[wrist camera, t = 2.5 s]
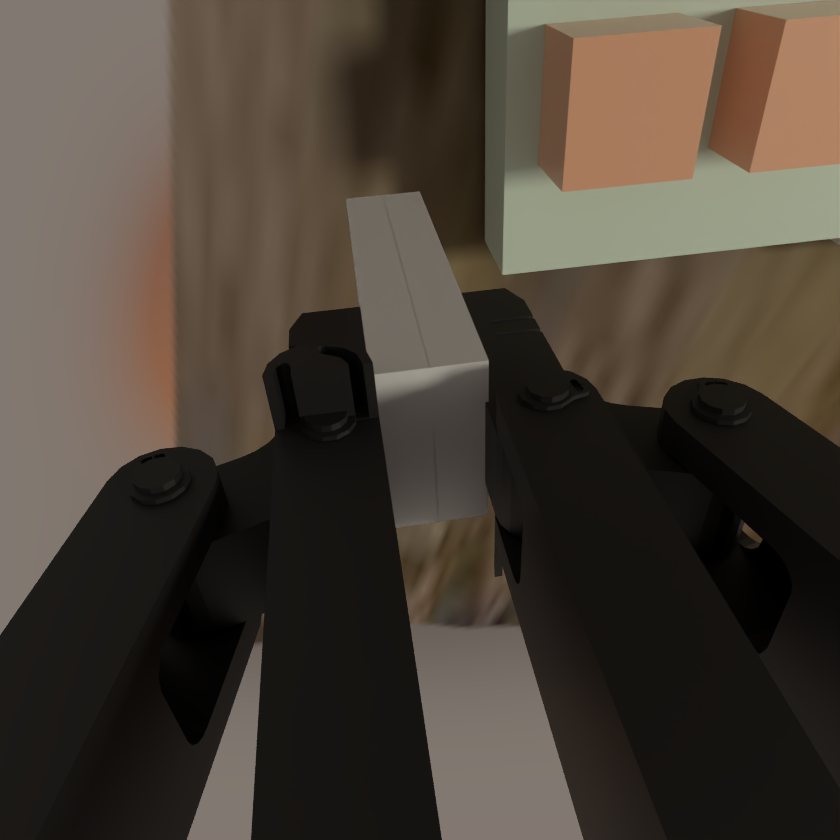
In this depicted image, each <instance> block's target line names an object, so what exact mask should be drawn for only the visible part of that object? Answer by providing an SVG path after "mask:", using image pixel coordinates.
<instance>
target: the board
mask: <svg viewBox="0 0 840 840" xmlns="http://www.w3.org/2000/svg"><path fill="white" fill-rule="evenodd" d="M811 1H823V0H486V49H485V242H486V244H487V246H488V248H489V250H490V252H491V254H492V256H493V258H494V260H495V262H496V263H497V265H498V267H499V269H500V271H501V273H502V275H506V274H515V273H524V272H534V271H543V270H552V269H561V268H570V267H579V266H588V265H597V264H606V263H615V262H624V261H634V260H643V259H652V258H661V257H670V256H679V255H688V254H697V253H706V252H715V251H724V250H734V249H743V248H752V247H761V246H770V245H779V244H788V243H797V242H806V241H815V240H824V239H834V238H840V164H833V165H823V166H813V167H804V168H794V169H784V170H774V171H764V172H755V173H748V172H747V171H745V170H744V169H742V168H740V167H739V166H737V165H735V164H734V163H732V162H730V161H729V160H727V159H725V158H724V157H722V156H720V155H719V154H717V153H716V152H714V151H712V150H711V149H709V148H708V146H709V141H710V136H711V131H712V126H713V121H714V116H715V111H716V106H717V101H718V96H719V91H720V86H721V81H722V76H723V71H724V66H725V61H726V56H727V51H728V46H729V41H730V36H731V31H732V26H733V21H734V16H735V11H736V8H740V7H752V6H764V5H775V4H787V3H799V2H811ZM669 13H681V14H684V15H688V16H691V17H695V18H698V19H702V20H705V21H708V22H712V23H715V24H719V25H722V28H721V33H720V38H719V43H718V48H717V54H716V59H715V64H714V69H713V75H712V80H711V85H710V90H709V95H708V101H707V106H706V111H705V116H704V122H703V127H702V132H701V137H700V142H699V148H698V153H697V158H696V163H695V169H694V174H693V179H686V180H676V181H667V182H657V183H647V184H637V185H627V186H618V187H608V188H598V189H588V190H578V191H569V192H562V191H561V190H560V189H559V188H558V187H557V186H556V185H555V183H554V182H553V181H552V180H551V179H550V178H549V177H548V175H547V174H546V173H545V172H544V171H543V170H542V169H541V168H540V166H539V165H538V157H539V137H540V118H541V98H542V78H543V59H544V39H545V24H551V23H563V22H575V21H587V20H598V19H610V18H622V17H634V16H646V15H657V14H669Z"/></svg>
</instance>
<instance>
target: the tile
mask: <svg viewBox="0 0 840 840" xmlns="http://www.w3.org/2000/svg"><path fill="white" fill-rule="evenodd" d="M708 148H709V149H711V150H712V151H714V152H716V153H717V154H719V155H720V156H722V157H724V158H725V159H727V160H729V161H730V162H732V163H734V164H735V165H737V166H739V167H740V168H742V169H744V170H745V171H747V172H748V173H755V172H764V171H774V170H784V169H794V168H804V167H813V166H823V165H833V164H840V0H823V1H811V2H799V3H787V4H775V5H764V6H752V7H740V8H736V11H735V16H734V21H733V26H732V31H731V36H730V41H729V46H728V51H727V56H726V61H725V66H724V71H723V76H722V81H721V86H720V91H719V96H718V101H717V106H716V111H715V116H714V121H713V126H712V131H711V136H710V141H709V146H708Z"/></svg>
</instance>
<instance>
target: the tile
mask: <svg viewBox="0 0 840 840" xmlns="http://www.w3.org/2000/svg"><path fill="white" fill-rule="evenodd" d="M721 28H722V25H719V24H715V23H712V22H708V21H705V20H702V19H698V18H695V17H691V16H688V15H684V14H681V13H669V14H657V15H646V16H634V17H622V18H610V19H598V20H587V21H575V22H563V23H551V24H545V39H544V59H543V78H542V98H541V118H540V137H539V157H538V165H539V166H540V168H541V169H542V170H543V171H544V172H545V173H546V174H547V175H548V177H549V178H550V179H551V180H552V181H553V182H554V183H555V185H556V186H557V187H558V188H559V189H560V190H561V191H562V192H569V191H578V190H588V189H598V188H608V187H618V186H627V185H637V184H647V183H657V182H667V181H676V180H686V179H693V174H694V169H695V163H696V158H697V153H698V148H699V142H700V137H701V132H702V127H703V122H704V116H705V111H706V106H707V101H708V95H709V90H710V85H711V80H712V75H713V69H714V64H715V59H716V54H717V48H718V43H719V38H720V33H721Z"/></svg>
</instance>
